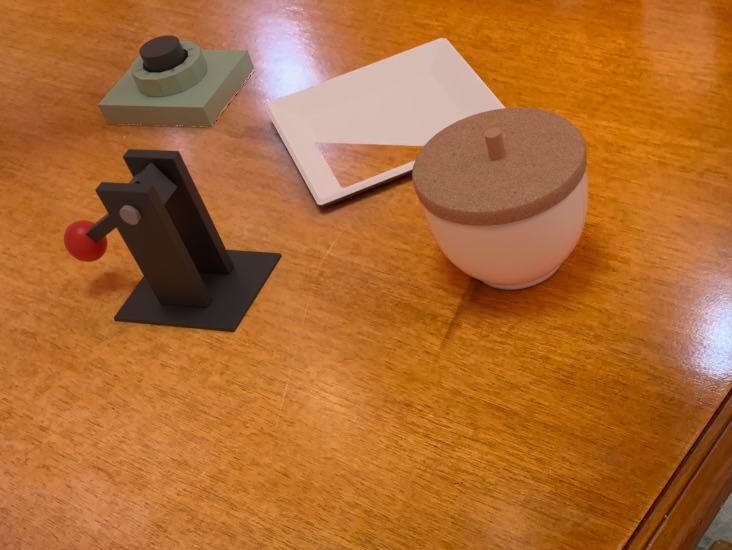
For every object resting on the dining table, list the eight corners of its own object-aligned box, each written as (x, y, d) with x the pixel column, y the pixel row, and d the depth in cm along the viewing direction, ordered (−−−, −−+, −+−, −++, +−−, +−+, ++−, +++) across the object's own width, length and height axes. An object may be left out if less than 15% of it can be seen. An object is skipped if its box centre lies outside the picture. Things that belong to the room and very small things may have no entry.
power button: (139, 74, 100) (131, 57, 99) (159, 52, 102) (151, 35, 101) (174, 75, 99) (167, 57, 98) (193, 52, 101) (186, 35, 100)
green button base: (108, 125, 102) (88, 87, 99) (155, 69, 108) (137, 32, 105) (212, 128, 99) (194, 89, 96) (255, 70, 104) (240, 32, 101)
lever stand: (119, 329, 83) (41, 205, 73) (171, 256, 88) (104, 131, 78) (238, 340, 80) (173, 212, 70) (285, 264, 85) (230, 135, 75)
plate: (325, 224, 87) (317, 203, 85) (270, 122, 98) (262, 102, 96) (524, 145, 90) (521, 123, 88) (449, 55, 101) (444, 34, 99)
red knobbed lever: (83, 275, 83) (49, 246, 81) (103, 250, 85) (69, 221, 83) (165, 214, 75) (129, 180, 73) (185, 186, 77) (150, 153, 75)
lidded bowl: (479, 200, 86) (450, 75, 77) (621, 219, 82) (608, 89, 73) (412, 300, 80) (373, 176, 71) (563, 326, 75) (541, 198, 66)
